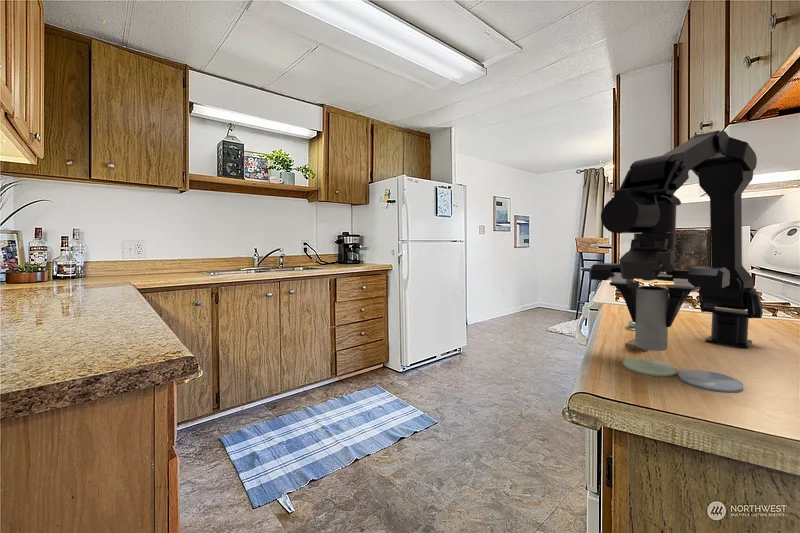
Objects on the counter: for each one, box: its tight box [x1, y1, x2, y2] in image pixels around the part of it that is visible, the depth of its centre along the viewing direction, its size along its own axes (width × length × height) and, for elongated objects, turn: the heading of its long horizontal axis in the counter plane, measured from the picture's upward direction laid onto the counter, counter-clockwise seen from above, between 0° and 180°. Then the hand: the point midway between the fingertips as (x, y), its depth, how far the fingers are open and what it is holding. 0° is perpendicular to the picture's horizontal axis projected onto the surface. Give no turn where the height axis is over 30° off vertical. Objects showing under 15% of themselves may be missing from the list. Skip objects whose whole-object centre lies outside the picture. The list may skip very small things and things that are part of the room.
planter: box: [634, 285, 669, 352], centre depth 61 cm, size 4×4×10 cm
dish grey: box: [677, 369, 744, 394], centre depth 56 cm, size 8×8×1 cm
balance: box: [624, 320, 649, 353], centre depth 74 cm, size 11×4×10 cm, turn 128°
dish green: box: [623, 357, 678, 378], centre depth 62 cm, size 8×8×1 cm
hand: (651, 324), depth 61 cm, fingers closed on planter, 4 cm apart
